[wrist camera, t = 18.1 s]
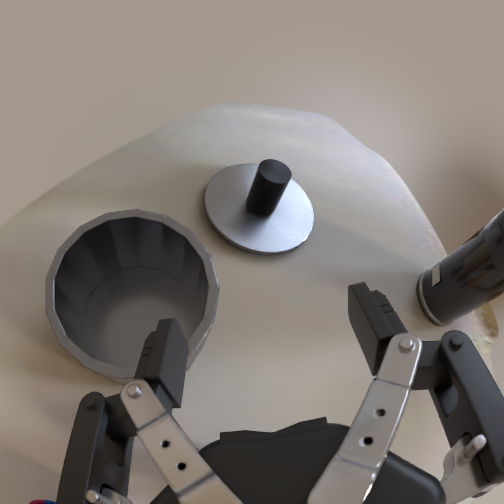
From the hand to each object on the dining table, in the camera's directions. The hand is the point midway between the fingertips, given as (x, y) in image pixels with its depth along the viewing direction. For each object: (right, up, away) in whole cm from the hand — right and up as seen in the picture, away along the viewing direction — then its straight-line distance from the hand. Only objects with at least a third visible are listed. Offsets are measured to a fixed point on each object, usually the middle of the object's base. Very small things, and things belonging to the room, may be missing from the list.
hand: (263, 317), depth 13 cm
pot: (-12, -4, +15) cm, 20 cm away
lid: (+1, +9, +26) cm, 27 cm away
